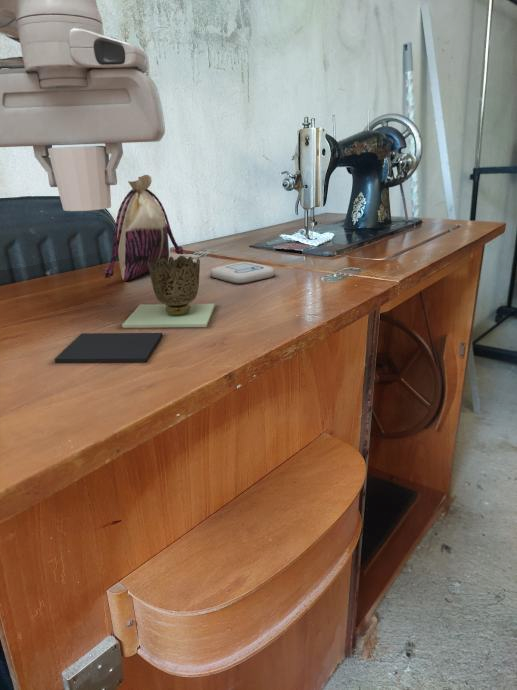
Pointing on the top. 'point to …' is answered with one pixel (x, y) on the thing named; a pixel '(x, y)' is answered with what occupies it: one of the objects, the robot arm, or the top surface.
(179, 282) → the cup
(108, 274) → the pouch
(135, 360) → the charcoal mat
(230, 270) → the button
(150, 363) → the top surface
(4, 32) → the robot arm
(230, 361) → the top surface
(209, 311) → the sage mat
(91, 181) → the white tapered cup
